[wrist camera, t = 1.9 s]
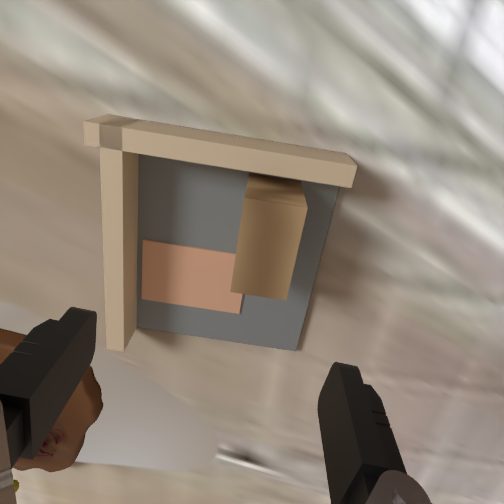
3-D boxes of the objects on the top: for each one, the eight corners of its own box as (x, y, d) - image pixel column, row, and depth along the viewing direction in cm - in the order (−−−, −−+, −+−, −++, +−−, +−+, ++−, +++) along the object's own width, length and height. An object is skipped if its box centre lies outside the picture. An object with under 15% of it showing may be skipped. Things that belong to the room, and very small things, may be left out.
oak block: (300, 181, 28) (307, 207, 23) (283, 260, 31) (286, 300, 26) (249, 173, 28) (244, 197, 23) (237, 253, 31) (230, 292, 26)
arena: (346, 153, 28) (357, 166, 24) (295, 347, 36) (298, 377, 33) (107, 114, 27) (83, 121, 24) (112, 319, 36) (95, 347, 32)
